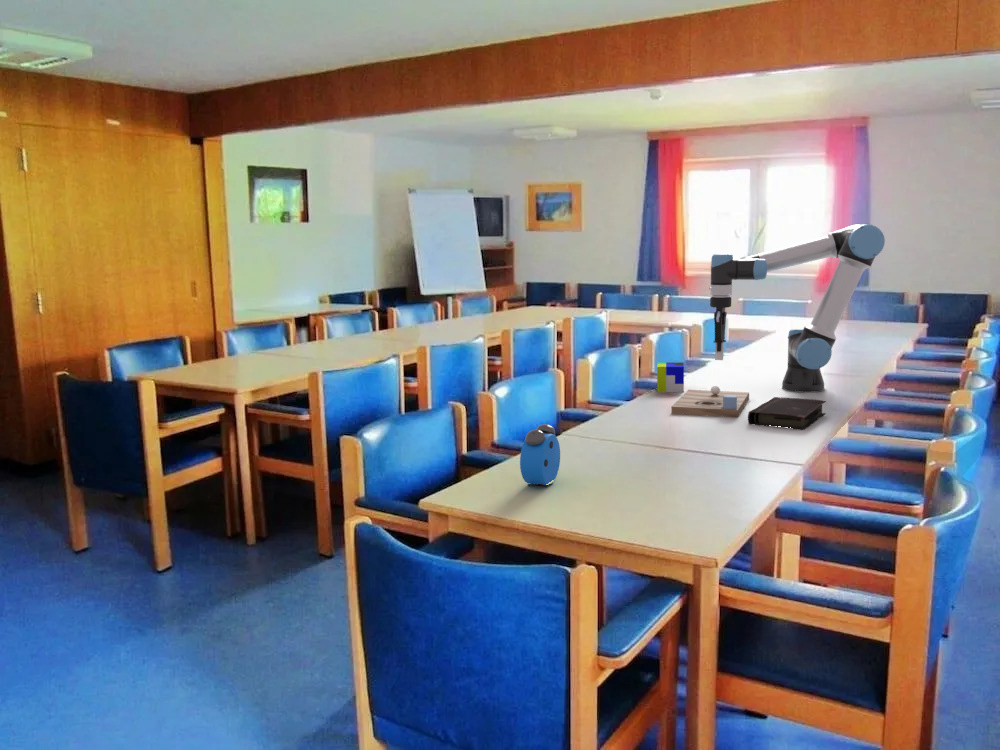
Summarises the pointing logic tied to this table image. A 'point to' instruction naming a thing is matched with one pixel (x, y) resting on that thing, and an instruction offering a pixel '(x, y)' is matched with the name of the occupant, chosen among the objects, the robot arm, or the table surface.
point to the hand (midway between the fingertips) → (719, 359)
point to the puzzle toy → (670, 377)
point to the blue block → (729, 401)
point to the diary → (787, 412)
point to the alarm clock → (540, 455)
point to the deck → (708, 403)
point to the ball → (715, 390)
